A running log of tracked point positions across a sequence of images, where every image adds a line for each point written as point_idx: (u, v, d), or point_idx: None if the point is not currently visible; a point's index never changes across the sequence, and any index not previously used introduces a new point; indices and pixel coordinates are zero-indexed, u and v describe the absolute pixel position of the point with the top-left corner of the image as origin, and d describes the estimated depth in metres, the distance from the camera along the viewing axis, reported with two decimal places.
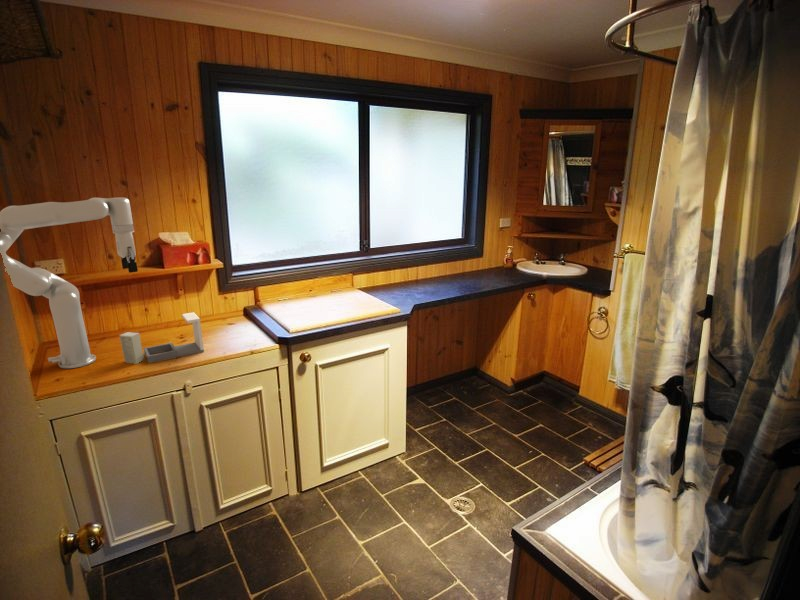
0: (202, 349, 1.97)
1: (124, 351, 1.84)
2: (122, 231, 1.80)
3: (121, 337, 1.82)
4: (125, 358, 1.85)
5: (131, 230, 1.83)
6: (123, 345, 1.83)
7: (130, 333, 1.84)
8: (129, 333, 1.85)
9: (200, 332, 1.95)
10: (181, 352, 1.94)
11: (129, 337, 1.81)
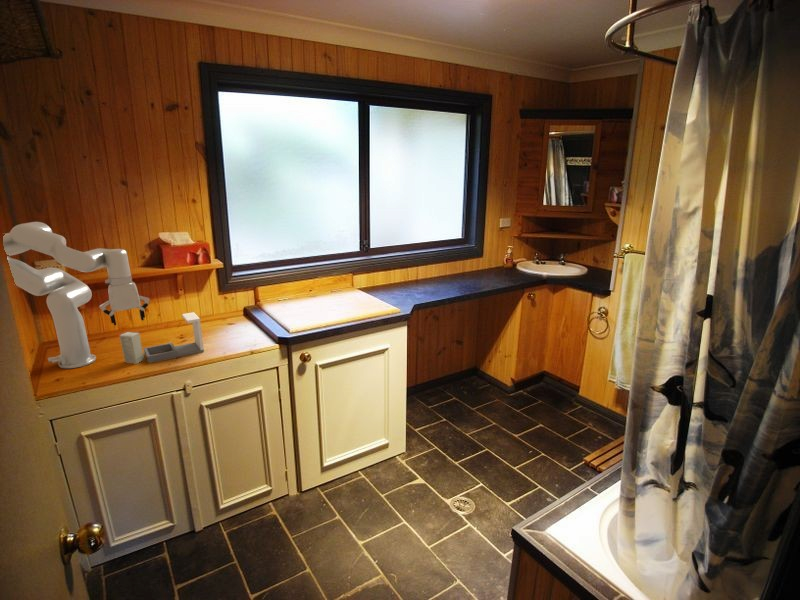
0: (202, 349, 1.97)
1: (124, 351, 1.84)
2: (131, 281, 1.79)
3: (121, 337, 1.82)
4: (125, 358, 1.85)
5: None
6: (123, 345, 1.83)
7: (130, 333, 1.84)
8: (129, 333, 1.85)
9: (200, 332, 1.95)
10: (181, 352, 1.94)
11: (129, 337, 1.81)
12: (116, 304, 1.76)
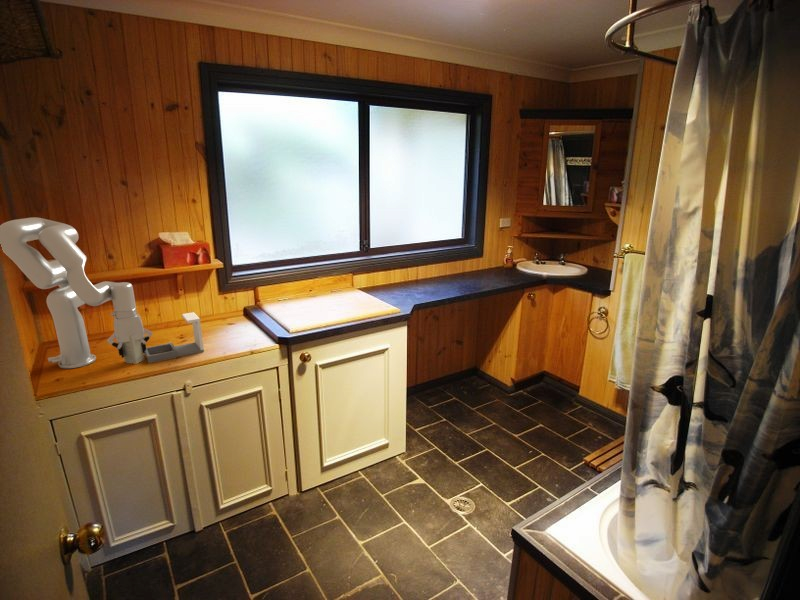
0: (202, 349, 1.97)
1: (124, 351, 1.84)
2: (136, 313, 1.82)
3: None
4: (125, 358, 1.85)
5: None
6: (123, 345, 1.83)
7: None
8: None
9: (200, 332, 1.95)
10: (181, 352, 1.94)
11: (129, 337, 1.81)
12: (121, 336, 1.80)
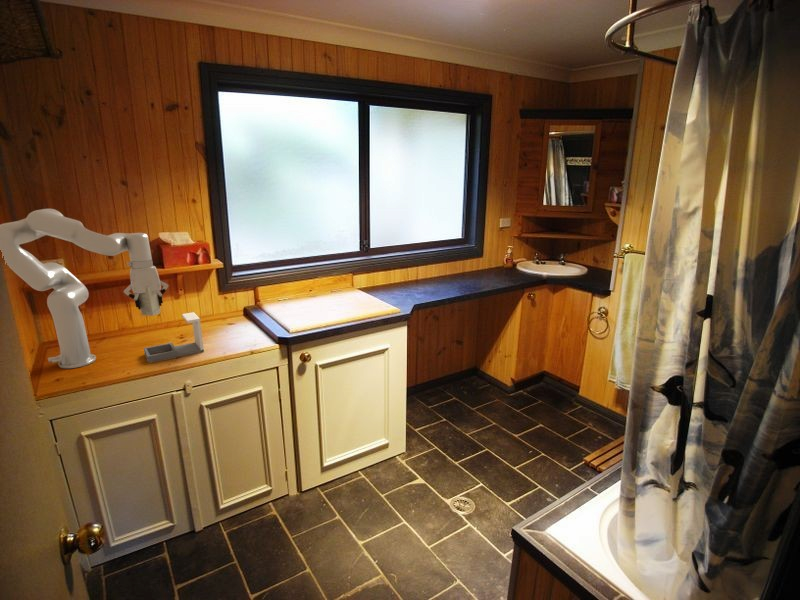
0: (202, 349, 1.97)
1: (140, 303, 1.84)
2: (152, 265, 1.82)
3: None
4: (142, 310, 1.84)
5: None
6: (139, 297, 1.83)
7: None
8: None
9: (200, 332, 1.95)
10: (181, 352, 1.94)
11: (145, 288, 1.80)
12: (137, 287, 1.79)
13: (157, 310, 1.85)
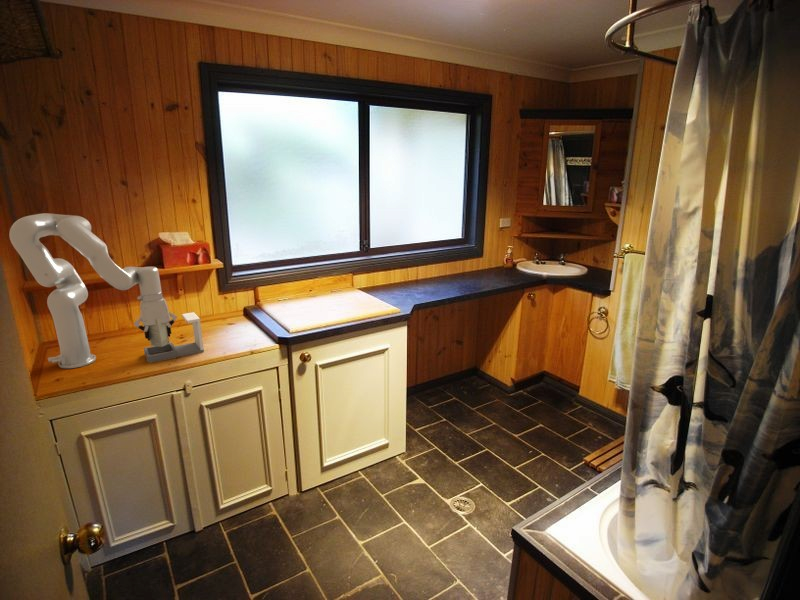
0: (202, 349, 1.97)
1: (150, 334, 1.88)
2: (162, 297, 1.87)
3: None
4: (151, 341, 1.89)
5: None
6: (149, 328, 1.87)
7: None
8: None
9: (200, 332, 1.95)
10: (181, 352, 1.94)
11: (155, 320, 1.85)
12: (147, 319, 1.84)
13: (166, 341, 1.90)
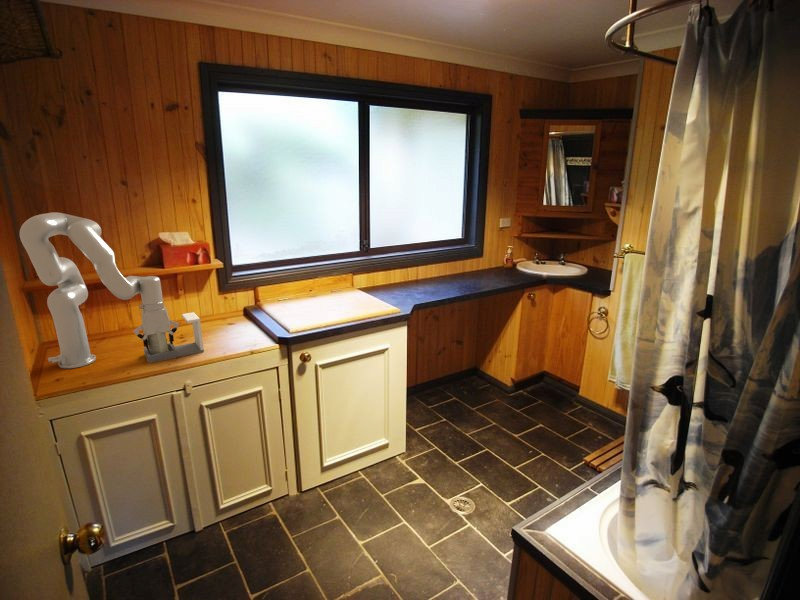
0: (202, 349, 1.97)
1: (150, 346, 1.90)
2: (163, 307, 1.88)
3: None
4: (151, 353, 1.91)
5: None
6: (149, 340, 1.89)
7: None
8: None
9: (200, 332, 1.95)
10: (181, 352, 1.94)
11: (155, 332, 1.87)
12: (149, 329, 1.85)
13: None
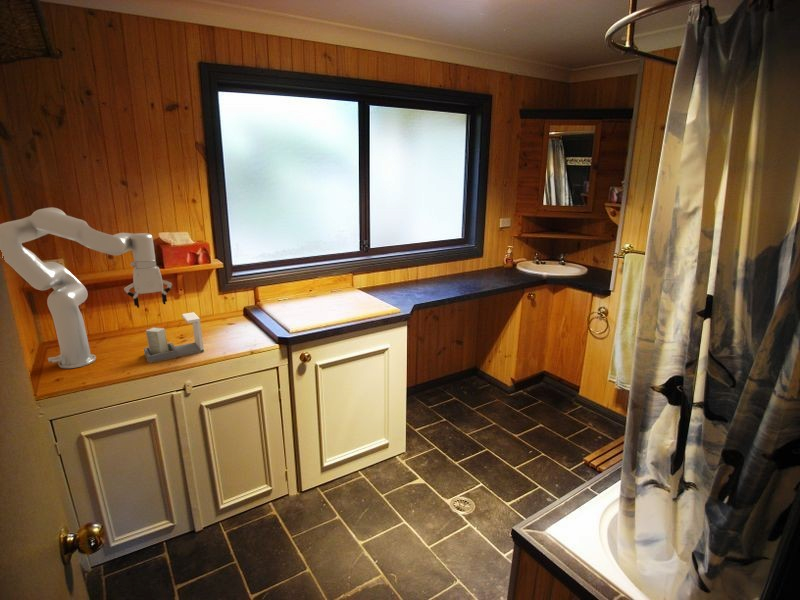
0: (202, 349, 1.97)
1: (149, 346, 1.90)
2: None
3: (147, 332, 1.88)
4: (151, 353, 1.91)
5: None
6: (149, 340, 1.89)
7: (156, 328, 1.90)
8: (155, 328, 1.90)
9: (200, 332, 1.95)
10: (181, 352, 1.94)
11: (155, 332, 1.87)
12: (140, 287, 1.80)
13: None
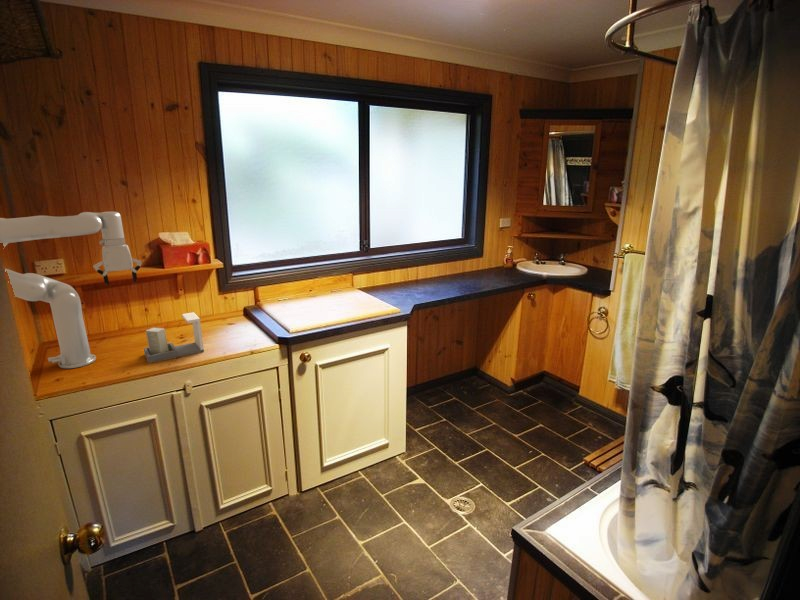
0: (202, 349, 1.97)
1: (149, 346, 1.90)
2: None
3: (147, 332, 1.88)
4: (151, 353, 1.91)
5: None
6: (149, 340, 1.89)
7: (156, 328, 1.90)
8: (155, 328, 1.90)
9: (200, 332, 1.95)
10: (181, 352, 1.94)
11: (155, 332, 1.87)
12: (109, 264, 1.84)
13: None
